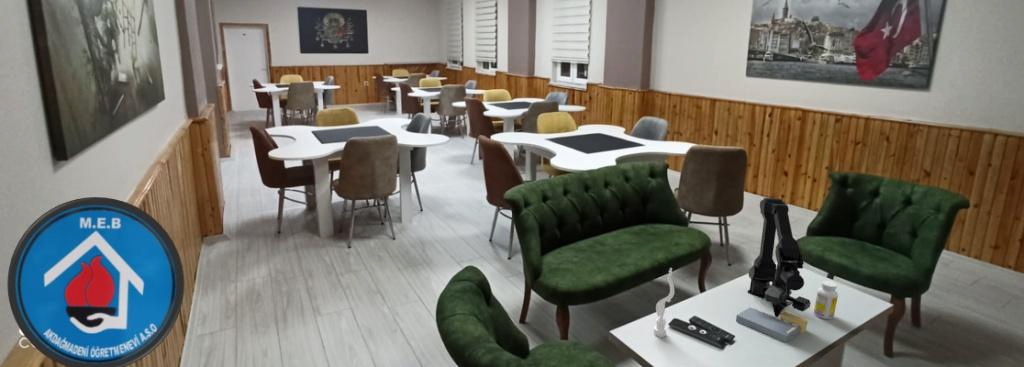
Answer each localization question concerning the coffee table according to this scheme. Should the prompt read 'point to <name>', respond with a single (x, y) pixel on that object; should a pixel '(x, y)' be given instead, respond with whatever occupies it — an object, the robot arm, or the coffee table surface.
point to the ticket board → (768, 324)
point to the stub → (795, 320)
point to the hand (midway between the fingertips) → (776, 317)
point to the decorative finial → (663, 309)
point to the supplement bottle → (826, 300)
